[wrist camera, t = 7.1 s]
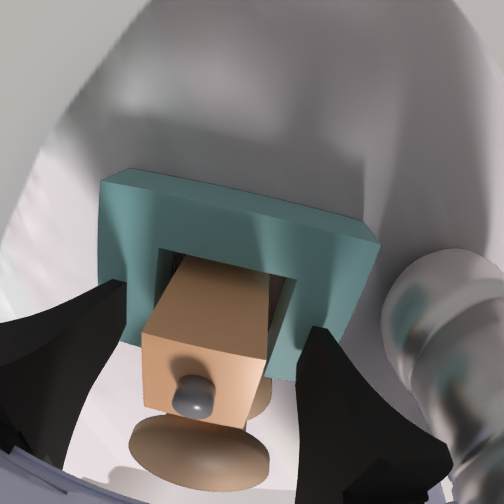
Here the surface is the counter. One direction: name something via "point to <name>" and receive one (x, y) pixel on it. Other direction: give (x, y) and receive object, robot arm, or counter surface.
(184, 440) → the bobbin
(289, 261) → the notch board
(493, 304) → the plastic bottle
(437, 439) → the robot arm
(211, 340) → the plug
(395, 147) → the counter surface
